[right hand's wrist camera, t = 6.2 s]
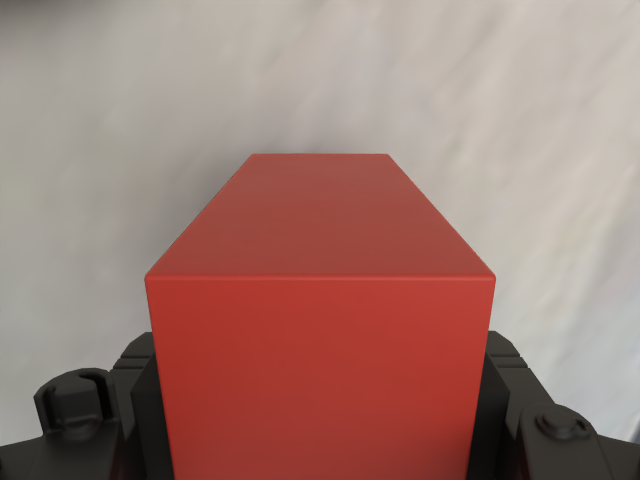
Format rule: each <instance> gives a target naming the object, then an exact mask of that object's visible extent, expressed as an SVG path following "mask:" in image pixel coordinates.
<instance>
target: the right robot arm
mask: <svg viewBox="0 0 640 480" xmlns="http://www.w3.org/2000/svg"><path fill="white" fill-rule="evenodd" d="M33 398H34V401H35V405H36V409H37V412H38V416H39V420H40V423H41V427H42V431H43V435H42V436H41V437H38V438H35V439H31V440H27V441H22V442H18V443H14V444H9V445H5V446H1V447H0V480H175V479H174V472H173V466H172V459H171V452H170V446H169V439H168V432H167V426H166V419H165V413H164V406H163V399H162V393H161V386H160V379H159V373H158V366H157V359H156V353H155V346H154V339H153V333H152V332H145V333H144V334H142V335H141V336H139V337H138V338H137V339H135V340H134V341H132V342H131V343H130V344H129V345H128V346H127V348H126V349H125V351H124V352H123V353H122V355H121V358H120V359H118V360H117V362H116V363H115V365H114V366H113V369H111V370H110V372H108V371H107V370H103V369H99V368H82V369H78V370H74V371H70V372H66V373H64V374H62V375H60V376H57V377H55V378H53V379H51V380H50V381H49V382H47V383H46V384H45V385H43V386H42V387H40V389H39V390H38V391H37V393H36V394H35V395H34V397H33ZM466 480H640V445H639V444H635V443H630V442H626V441H622V440H617V439H613V438H609V437H605V436H602V435H598V434H597V432H596V431H595V429H594V428H593V426H592V425H591V423H590V422H589V421H587V420H586V419H585V418H584V417H583V416H581V415H580V414H579V413H577V412H575V411H573V410H571V409H569V408H567V407H565V406H562V405H558V404H555V403H554V401H553V400H552V398H551V397H550V396H549V394H548V393H547V391H546V390H545V389H544V387H543V386H542V385H541V383H540V382H539V380H538V379H537V378H536V376H535V375H534V373H533V372H532V371H531V369H530V368H528V365H527V364H526V362H525V361H524V360H523V358H522V357H520V354H519V353H518V351H517V350H516V348H515V347H514V346H513V344H512V343H511V342H510V341H509V340H507V339H506V338H505V337H503V336H502V335H500V334H499V333H497V332H496V331H488V336H487V342H486V349H485V356H484V362H483V369H482V375H481V382H480V389H479V395H478V402H477V409H476V415H475V422H474V429H473V435H472V442H471V449H470V455H469V462H468V468H467V475H466Z"/></svg>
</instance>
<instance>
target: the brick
mask: <svg viewBox="0 0 640 480" xmlns="http://www.w3.org/2000/svg"><path fill="white" fill-rule="evenodd" d="M144 279H145V286H146V293H147V299H148V306H149V313H150V319H151V326H152V333H153V339H154V346H155V353H156V359H157V366H158V373H159V379H160V386H161V393H162V399H163V406H164V413H165V419H166V426H167V432H168V439H169V446H170V452H171V459H172V466H173V472H174V479H175V480H466V475H467V468H468V462H469V455H470V449H471V442H472V435H473V429H474V422H475V415H476V409H477V402H478V395H479V389H480V382H481V375H482V369H483V362H484V356H485V349H486V342H487V336H488V329H489V322H490V316H491V309H492V302H493V296H494V289H495V283H496V277H495V274H494V273H493V272H492V271H491V270H490V269H489V268H488V266H487V265H486V264H485V263H484V262H483V261H482V260H481V259H480V257H479V256H478V255H477V254H476V253H475V252H474V251H473V250H472V248H471V247H470V246H469V245H468V244H467V243H466V242H465V241H464V239H463V238H462V237H461V236H460V235H459V234H458V233H457V231H456V230H455V229H454V228H453V227H452V226H451V225H450V224H449V222H448V221H447V220H446V219H445V218H444V217H443V216H442V215H441V213H440V212H439V211H438V210H437V209H436V208H435V207H434V206H433V204H432V203H431V202H430V201H429V200H428V199H427V198H426V197H425V195H424V194H423V193H422V192H421V191H420V190H419V189H418V187H417V186H416V185H415V184H414V183H413V182H412V181H411V180H410V178H409V177H408V176H407V175H406V174H405V173H404V172H403V171H402V169H401V168H400V167H399V166H398V165H397V164H396V163H395V162H394V160H393V159H392V158H391V157H390V156H389V155H388V154H252V155H251V156H250V157H249V158H248V160H247V161H246V162H245V163H244V164H243V165H242V166H241V167H240V169H239V170H238V171H237V172H236V173H235V174H234V175H233V177H232V178H231V179H230V180H229V181H228V182H227V183H226V184H225V186H224V187H223V188H222V189H221V190H220V191H219V192H218V193H217V195H216V196H215V197H214V198H213V199H212V200H211V201H210V203H209V204H208V205H207V206H206V207H205V208H204V209H203V210H202V212H201V213H200V214H199V215H198V216H197V217H196V218H195V219H194V221H193V222H192V223H191V224H190V225H189V226H188V227H187V229H186V230H185V231H184V232H183V233H182V234H181V235H180V236H179V238H178V239H177V240H176V241H175V242H174V243H173V244H172V245H171V247H170V248H169V249H168V250H167V251H166V252H165V253H164V255H163V256H162V257H161V258H160V259H159V260H158V261H157V262H156V264H155V265H154V266H153V267H152V268H151V269H150V270H149V272H148V273H147V274H146V275H145V278H144Z"/></svg>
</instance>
